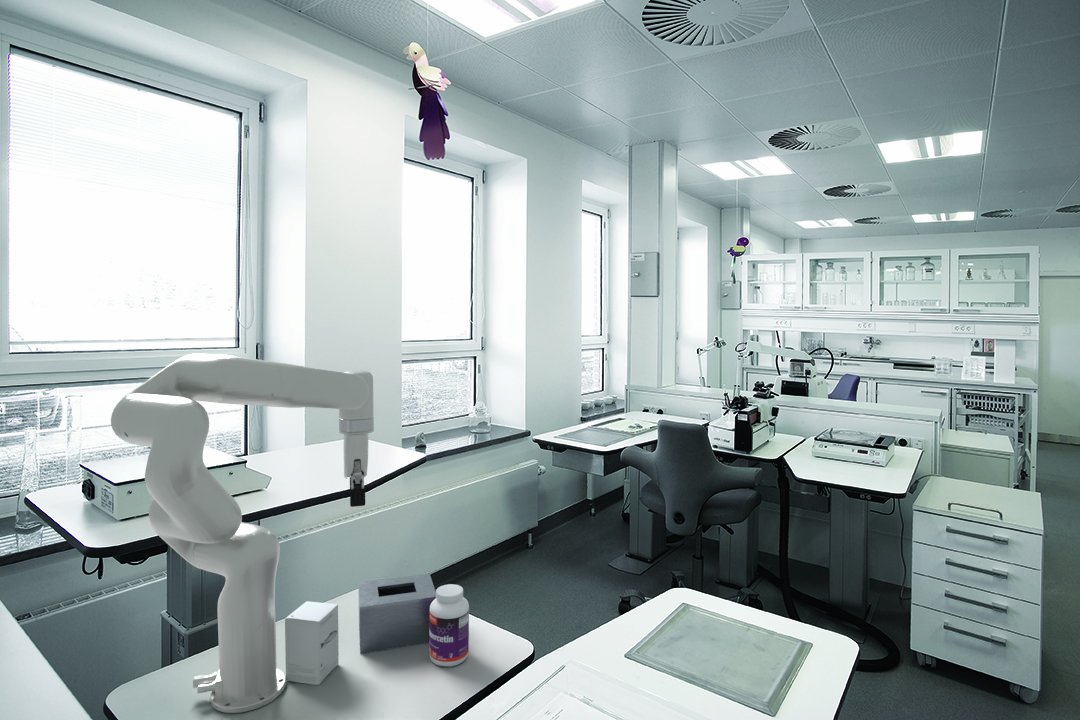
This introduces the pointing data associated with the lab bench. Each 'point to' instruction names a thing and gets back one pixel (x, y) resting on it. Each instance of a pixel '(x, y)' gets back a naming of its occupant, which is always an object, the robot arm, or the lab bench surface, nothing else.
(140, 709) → the lab bench surface
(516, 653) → the lab bench surface
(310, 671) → the supplement box
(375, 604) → the grey slotted box
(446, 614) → the pill bottle
